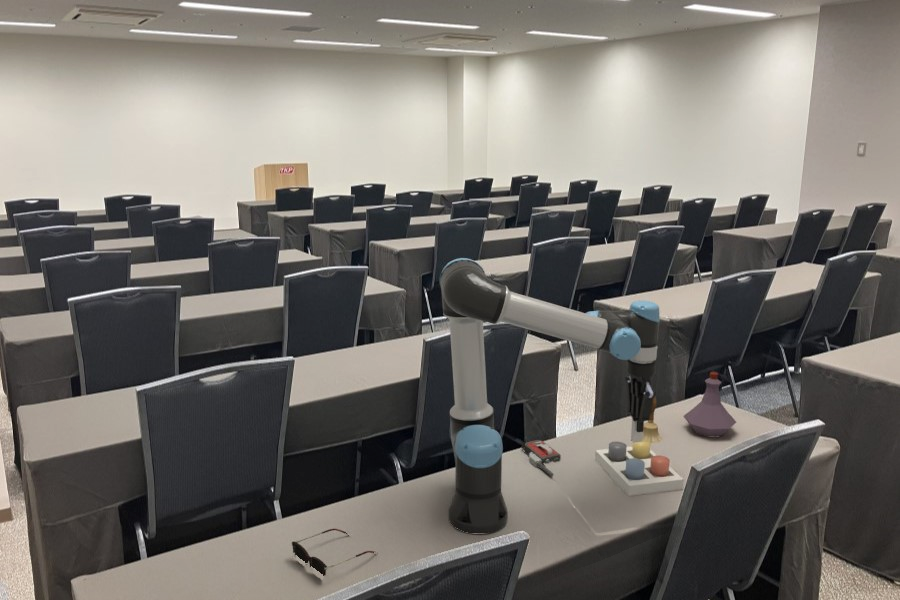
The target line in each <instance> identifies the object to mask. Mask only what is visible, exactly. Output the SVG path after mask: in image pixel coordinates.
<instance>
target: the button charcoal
mask: <svg viewBox="0 0 900 600" xmlns="http://www.w3.org/2000/svg"><path fill="white" fill-rule="evenodd" d="M627 447H628V446H627V443H625V442H622V441H612V442H609V443H608V449H609V452H608V458H609V459H610V460H611V461H615V462H623V461H625V460H626V449H627Z"/></svg>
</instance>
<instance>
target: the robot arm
mask: <svg viewBox="0 0 900 600" xmlns="http://www.w3.org/2000/svg"><path fill="white" fill-rule="evenodd" d="M439 286H440V289H441V301H442V313H443V316H444V317H445V318H447V319H448V321H449V331H450V336H449V337H450V347H451V351H450V352H451V365H452V380H453V393H454V394H453V397H454V405H453V406H452V407H451V408H450V410H449V420H450V424H449V426H450V427H449V438H450V439H451V440H450V441H451V445H452V450H453V456H454V463H455V469H454V470H455V472H454V473H455V477H454V478H455V481H454V483H455V490H454V494H453V496H452V499H451V502H450V504H449V507H448V522H449V521H450V522H449V523H451V524H452V525H453V526H454V527H456V528H458V529H460V530H462V531H464V532H463V533H465V532H468V533H467V534H470V533H488V534H492V533H495V532H497V531H500V530H501V529H503V528H505V526H506V525H507V523H508V519H509V518H508V514H509V513H508V507H507V504H506V502H505V499H504V495H503V492H502V473H503V472H502V470H503V467H502V463H503V461H502V458H503V450H504V447H503V439H502V437H501V434H500V433H499V432H498V431H497V430H496V429H495V421H494V420H495V419H494V407H493V406H491V404H489V403H488V397H487V376H486V375H487V374H486V356H485V355H486V354H485V353H486V352H485V338H484V337H485V335H484V322H486V323H489V324H491V325H497V324H499V323H505V324H509V325H512V326H515V327H520V328H523V329H527V330H530V331H533V332H537V333H541V334H543V335H547V336H551V337H555V338H557V339H560V340H565V341H569V342H572V343H575V344H579V345H583V346H587V347H590V348H593V349H597V350H599V351H602V352H606V353H609V354H611V355H612V356H613V357H615V358H616V359H619V360H621V361H627V362H626V372H627V374H628V375H629V376H628V375H627V376H625V377H624V379H625V384H626V398H627V412H628V413H629V414H630V417H631V433H630V434H631V435H630V441H631V442H632V444H633V443H634V442H643V427H644V423H645V422H648V421H649V418H650V413H651V408H652V404H653V399H654V397H656V395H657V392H656V390H653V389H652V381H651V380H652V379H651V378H652V377H653V376H654V375H656V373H657V361H656V359H657V356H658V355H657V353H658V351H657V350H659V349H658V348H659V347H658V338H659V327H660V322H661V321H660V320H661V319H660V306H659V305H658V304H657V303H656V302H655V301H650V300H637V301H632V302H631V303H630V306H629V309H626V310H624V309H623V310H593V311H587V312H585V313H584V312H582V311H578V310H575V309H571V308H568V307H564V306H561V305H558V304H554V303H551V302H547V301H545V300H541V299H538V298H534V297H531V296H527V295H523V294H519V293H516V292H515V291H511V290H509V288H508V286H507V285H505V284H501V283H499V282H495V281H493V280H492V279H490V278H488V277H487V276H486V273H485V270H484V268H483V266H481V265H480V264H479V263H478V262H476V261H475V260H473V259H471V258H465V257H459V258H455V259H453V260H451V261H449V262H448V263H447V264H446V265H445V266H444V267H443V268H442V271H441V273H440V275H439ZM451 524H450V525H451ZM452 525H451V526H452ZM453 526H452V527H453ZM454 527H453V528H454ZM456 528H455V529H456ZM458 529H457V530H458ZM460 530H459V531H460ZM462 531H461V532H462Z"/></svg>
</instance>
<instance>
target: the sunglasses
mask: <svg viewBox="0 0 900 600" xmlns="http://www.w3.org/2000/svg"><path fill="white" fill-rule="evenodd" d="M332 531H338V532H340V533H342V534H345V533H346V532H347V531H344V530H342V529H339V528H330V529H327V530H324V531H321V532H317V534H313V535H311V536H308V537H305V538H302V539H299V540H296V541H295V540H294V541H291V545H292V554H294V556H295V555H297V556H298V557H299V558H300V559H302V560H303V561H305V563H308V564H309V568H310V567H311V566H312V567H313V568H315V569H316V570H317V571H319V572H320V573H321V574H323V576H326V574H327V570H328V569H331V568H333V567H335V566H337V565H340V564H342V563H345V562H347V561H350V560H352V559H355V558H358V557H361V556H363V555H365V554H368V553H369V554H370V553H371V554H374V552H375V550H366V551H363V552H361V553H359V554H356V555H354V556H352V557H350V558H347V559H345V560H342V561H339V562H337V563H333V564H330V565H326V563H325V562H323V561H322V560H321V559H320V558H318V557H316V556H310V554H309V553H308V551H307V550H306V549H305V547H304V546H303V545H301V544H300V543H301V542H303V541H305V540H308V539H311V538H314V537H317V536H320V535H321V534H325V533H329V532H332Z"/></svg>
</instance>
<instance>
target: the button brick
mask: <svg viewBox="0 0 900 600" xmlns="http://www.w3.org/2000/svg"><path fill="white" fill-rule="evenodd" d="M670 463H671V462H670V458H668V457H667V456H664V455H657V454H656V456H652V457H651V465H650V473H651V474H652V475H654V476H657V477H666V476H668V474H669V467H670Z"/></svg>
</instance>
